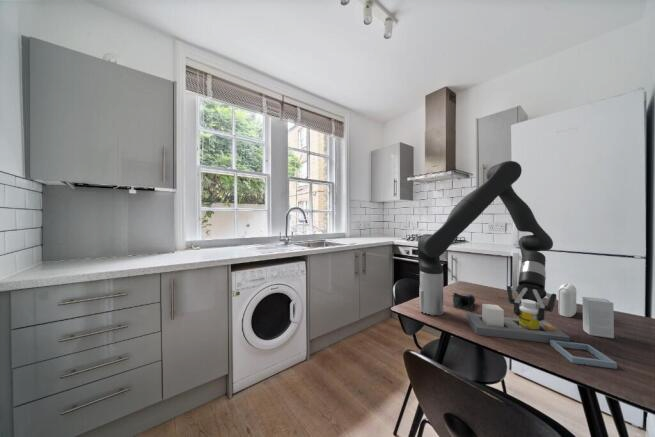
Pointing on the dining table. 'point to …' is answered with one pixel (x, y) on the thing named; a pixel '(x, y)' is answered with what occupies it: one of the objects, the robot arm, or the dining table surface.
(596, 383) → the dining table surface
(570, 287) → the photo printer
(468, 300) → the dark piece
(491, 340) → the dining table surface
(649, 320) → the dining table surface
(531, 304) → the supplement bottle
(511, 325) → the socket strip
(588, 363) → the blue-grey square frame
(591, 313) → the skincare box
